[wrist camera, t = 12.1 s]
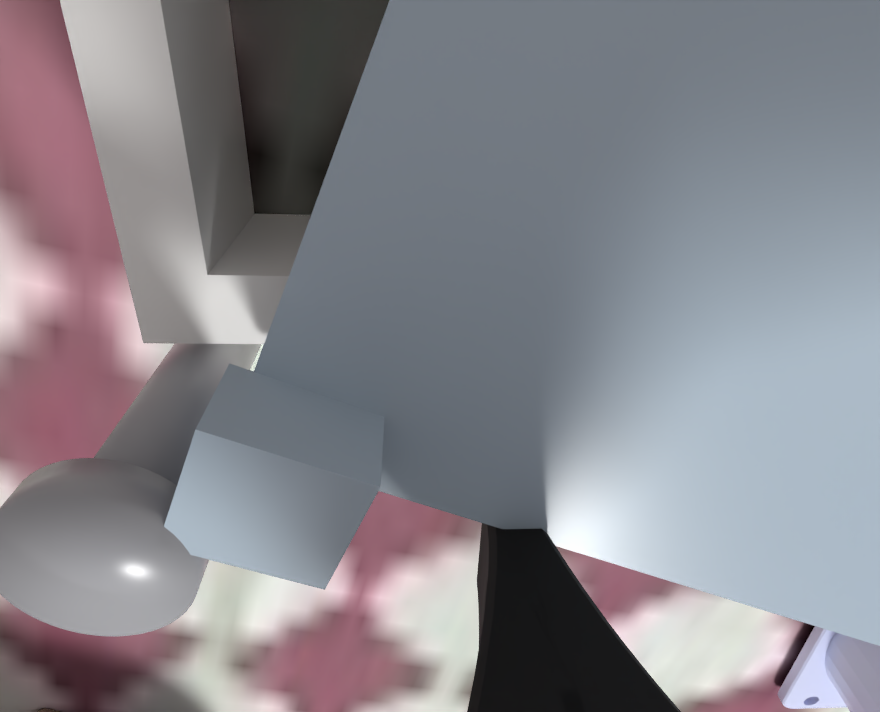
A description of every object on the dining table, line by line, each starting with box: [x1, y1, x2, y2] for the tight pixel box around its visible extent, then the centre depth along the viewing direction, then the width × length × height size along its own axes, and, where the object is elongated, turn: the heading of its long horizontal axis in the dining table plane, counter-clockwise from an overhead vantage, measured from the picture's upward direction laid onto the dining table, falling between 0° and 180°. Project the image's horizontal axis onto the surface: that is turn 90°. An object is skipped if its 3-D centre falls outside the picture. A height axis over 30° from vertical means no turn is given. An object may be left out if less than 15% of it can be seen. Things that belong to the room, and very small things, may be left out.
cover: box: [0, 0, 880, 646], centre depth 8 cm, size 15×10×3 cm, turn 65°
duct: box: [60, 0, 311, 485], centre depth 8 cm, size 15×10×6 cm, turn 88°
